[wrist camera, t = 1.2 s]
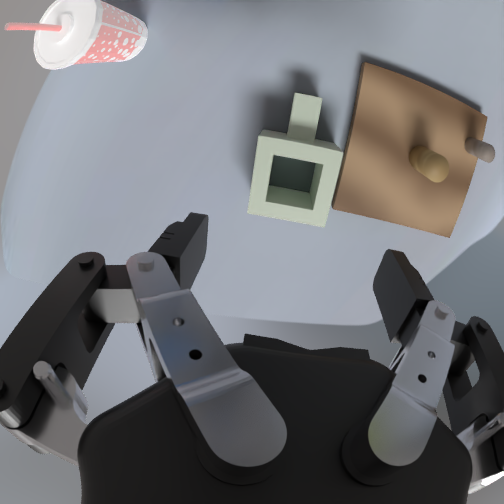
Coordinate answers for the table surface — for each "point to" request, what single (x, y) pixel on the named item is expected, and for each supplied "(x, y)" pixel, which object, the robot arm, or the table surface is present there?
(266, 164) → the square ring with handle
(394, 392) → the robot arm
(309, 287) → the table surface
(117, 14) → the beverage cup
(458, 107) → the locating plate
